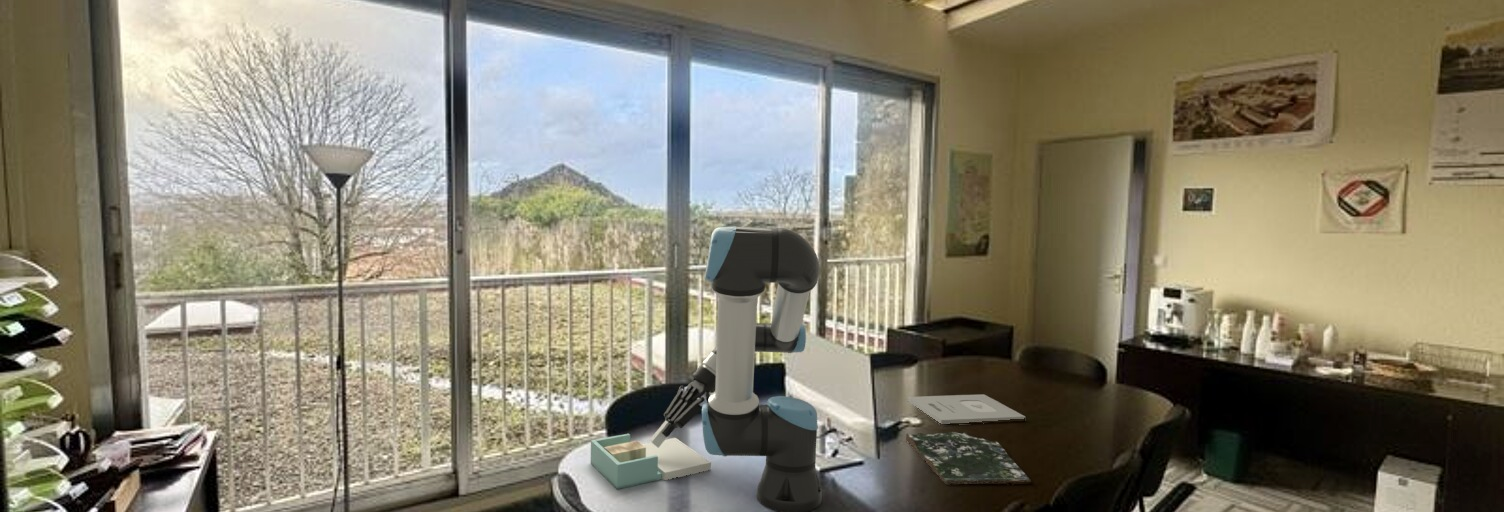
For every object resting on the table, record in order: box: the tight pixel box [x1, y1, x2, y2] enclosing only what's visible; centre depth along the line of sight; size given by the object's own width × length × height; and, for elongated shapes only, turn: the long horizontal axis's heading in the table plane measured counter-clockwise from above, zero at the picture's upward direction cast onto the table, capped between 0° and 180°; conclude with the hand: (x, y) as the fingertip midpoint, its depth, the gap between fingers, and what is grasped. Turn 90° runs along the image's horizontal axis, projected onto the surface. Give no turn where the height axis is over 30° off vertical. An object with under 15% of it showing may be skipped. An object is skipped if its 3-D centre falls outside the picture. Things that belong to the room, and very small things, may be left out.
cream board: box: [641, 437, 712, 481], centre depth 175 cm, size 20×13×2 cm, turn 34°
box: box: [590, 433, 662, 490], centre depth 167 cm, size 18×12×6 cm, turn 34°
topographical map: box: [905, 431, 1032, 486], centre depth 183 cm, size 26×33×3 cm
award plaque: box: [907, 394, 1026, 424], centre depth 226 cm, size 25×30×2 cm
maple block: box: [604, 440, 646, 463], centre depth 168 cm, size 6×6×9 cm
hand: (653, 444), depth 172 cm, fingers closed
